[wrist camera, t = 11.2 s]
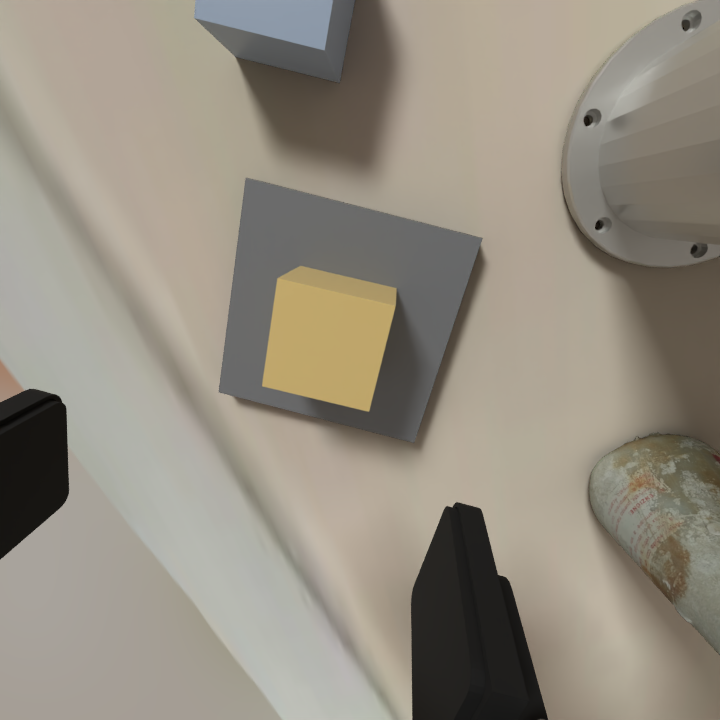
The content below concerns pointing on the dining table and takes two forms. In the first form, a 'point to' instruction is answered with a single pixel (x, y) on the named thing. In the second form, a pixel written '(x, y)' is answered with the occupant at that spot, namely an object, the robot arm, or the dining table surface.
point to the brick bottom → (328, 336)
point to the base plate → (356, 260)
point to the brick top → (282, 32)
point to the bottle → (667, 519)
